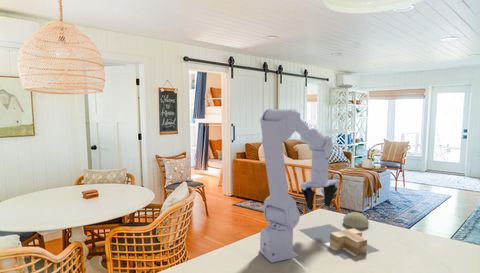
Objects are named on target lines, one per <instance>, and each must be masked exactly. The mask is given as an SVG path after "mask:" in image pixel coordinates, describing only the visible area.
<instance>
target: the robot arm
mask: <svg viewBox="0 0 480 273" xmlns="http://www.w3.org/2000/svg"><path fill="white" fill-rule="evenodd" d="M259 123H260V128H261V135H262V137H261V138H262V139H261V140H262V148H263V155H264V156H263V157H264V161H265V168H266V176H267V177H266V178H267V183H268V190H269V196H267V197H266V198H265V199H264V200H263V204H264V206H263V218H264V219H265V220H266V224H267V226H265V227H263V228H261V230H260V235H259V237H260V239H259V240H260V241H259V242H260V243H259V244H260V245H259V247H260V248H259V249H258V252H259V253H260V254H261V255H263V257H265V258H266V259H267V260H268V262H270V263H277V262H281V261H286V260H290V259H295V258H294V257H299V254H298V253H297V252H295V250H293V249H294V248H293V244H294V243H293V242H294V239H293V238H294V228H296V226H297V225H298V224H299V221H300V216H301V215H300V214H301V213H300V211H299V208H298V205H297V202H296V200H295V199H294V197H292V196H291V195H290V194H289V188H288V179H287V174H286V173H287V172H286V165H285V164H286V163H285V158H284V157H285V156H284V147H283V143H284V142H286V141H289V140H290V138H291V137H292V136H293V134H294V133H295V132H296V133H297V134H299V135H300V139H301V141H303V142H304V143H305V144H307V145H308V149H309V151H310V152H311V173H310V174H311V176H310V177H311V178H310V180H308V181H304V182H300V190H301V193H302V195H303V197H304V199H305V203H306V208H307V209H309V210H313V207H314V198H315V194H316V191H315V190H313V189H316V188H323V192H324V193H323V194H324V197H323V198H324V206H326V207H328V208H330V207H331V204H332V201H333V198H334V196H335V194H336V192H337V191H338V185H339V184H338V182H339V180H337V179H329V166H330V165H329V164H330V162H329V161H330V157H331V152H332V150H333V140H332V138H331V137H329V136H328V135H324V134H323V133H322V132H321V131H319V130H318V129H317V127H316V126H315V125H307V124H306V122H305V121H303V119H302V118H301V113H300V112H299V111H297V110H296V109H295V108H291V109H280V108H279V109H273V108H268V109H265V110H264V112H263V114H262V115H261V117H260V119H259Z"/></svg>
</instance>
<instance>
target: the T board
mask: <svg viewBox="0 0 480 273" xmlns="http://www.w3.org/2000/svg"><path fill="white" fill-rule="evenodd" d="M299 231H300V232H301V233H303V234H304V235H305V236H307V237H309V238H310V239H312V240H313V241H315V242H317V243H318V244H320V245H321V246H323V247H324V248H326V249H328V250H329V251H331V252H332V253H334V254H335V255H337V256H338V257H340V258H342V259H343V260H347V259H351V258H352V259H353V258H355V257H356V258H357V257H359V256H362V255H368V254H370V253H371V254H372V253H375V252H379V251H380V249H377V248H376V247H374V246H373V245H370V244H368V243H367V253H363V254H359V255H356V254H354V253H352V252H351V251H349V250H347V249H346V248H343V249H338V250H337V249H335V248H334V247H332V246H331V245H330V233H333V232H338V231H343V230H341V229H340V228H337V227H336V226H334V225H332V224H324V225H319V226H318V225H317V226H313V227H307V228H303V229H299Z"/></svg>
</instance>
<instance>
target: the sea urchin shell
mask: <svg viewBox="0 0 480 273" xmlns="http://www.w3.org/2000/svg"><path fill="white" fill-rule="evenodd" d="M342 220H343V221H342V222H343V224H344V226H346V227H348V228H350V229H353V228H355V229H357V230H363V229H367V228H368V227H369V224H370V221H369V220H368V218H367V217H366V216H365V215H364V214H363V213H361V212H357V211H353V212H352V211H351V212H349V213H347V214H345V215H344V216H343V219H342Z"/></svg>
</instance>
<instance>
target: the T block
mask: <svg viewBox="0 0 480 273" xmlns="http://www.w3.org/2000/svg"><path fill="white" fill-rule="evenodd" d="M367 244H368V239H366V238H365V237H363V231H360V229H355V228H349V229H344V230H342V231H338V232H333V233H330V245H331V246H332V247H334V248H335V249H337V250H338V249H343V248H346V249H347V250H349V251H351V252H352V253H354V254H356V255H359V254H363V253H367Z"/></svg>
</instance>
